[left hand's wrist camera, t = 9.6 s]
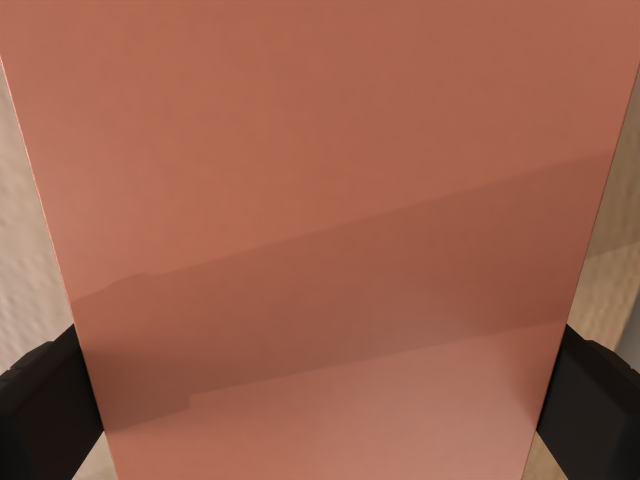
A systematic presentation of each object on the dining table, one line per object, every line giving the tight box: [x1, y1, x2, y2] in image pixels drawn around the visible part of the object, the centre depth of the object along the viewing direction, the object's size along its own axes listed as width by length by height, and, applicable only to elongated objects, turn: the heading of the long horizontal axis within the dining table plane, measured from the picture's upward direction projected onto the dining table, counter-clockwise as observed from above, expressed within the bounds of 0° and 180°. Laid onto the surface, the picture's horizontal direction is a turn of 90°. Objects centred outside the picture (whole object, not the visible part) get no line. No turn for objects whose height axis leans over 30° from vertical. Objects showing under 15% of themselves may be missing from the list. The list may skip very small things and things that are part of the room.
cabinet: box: [0, 0, 640, 480], centre depth 11 cm, size 17×11×9 cm, turn 0°
